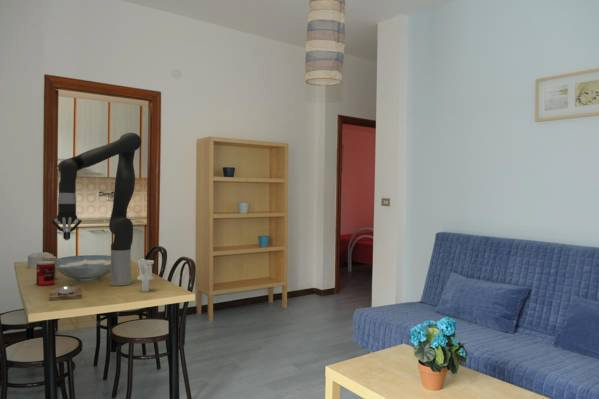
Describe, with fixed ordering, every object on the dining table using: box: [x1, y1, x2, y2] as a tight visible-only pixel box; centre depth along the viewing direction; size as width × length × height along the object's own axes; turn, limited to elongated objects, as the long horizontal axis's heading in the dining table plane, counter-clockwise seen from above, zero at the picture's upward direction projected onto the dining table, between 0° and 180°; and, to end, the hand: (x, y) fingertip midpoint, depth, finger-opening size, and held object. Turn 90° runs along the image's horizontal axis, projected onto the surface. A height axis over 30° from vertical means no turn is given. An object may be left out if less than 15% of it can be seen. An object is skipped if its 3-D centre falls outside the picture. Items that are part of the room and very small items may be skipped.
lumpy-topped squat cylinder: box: [27, 251, 54, 270], centre depth 274 cm, size 10×13×9 cm
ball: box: [59, 285, 72, 295], centre depth 198 cm, size 5×5×5 cm
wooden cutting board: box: [48, 285, 82, 302], centre depth 203 cm, size 12×20×2 cm, turn 26°
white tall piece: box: [137, 258, 155, 293], centre depth 214 cm, size 7×7×15 cm
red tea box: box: [42, 255, 58, 280], centre depth 236 cm, size 6×8×12 cm
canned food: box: [36, 261, 56, 287], centre depth 224 cm, size 8×8×11 cm
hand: (66, 240), depth 213 cm, fingers closed
